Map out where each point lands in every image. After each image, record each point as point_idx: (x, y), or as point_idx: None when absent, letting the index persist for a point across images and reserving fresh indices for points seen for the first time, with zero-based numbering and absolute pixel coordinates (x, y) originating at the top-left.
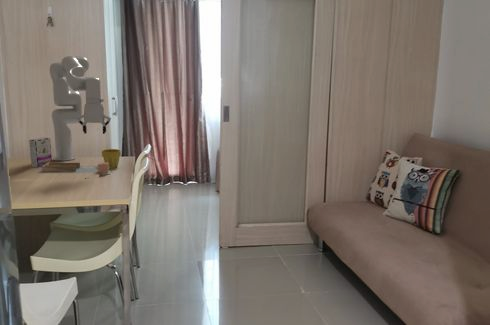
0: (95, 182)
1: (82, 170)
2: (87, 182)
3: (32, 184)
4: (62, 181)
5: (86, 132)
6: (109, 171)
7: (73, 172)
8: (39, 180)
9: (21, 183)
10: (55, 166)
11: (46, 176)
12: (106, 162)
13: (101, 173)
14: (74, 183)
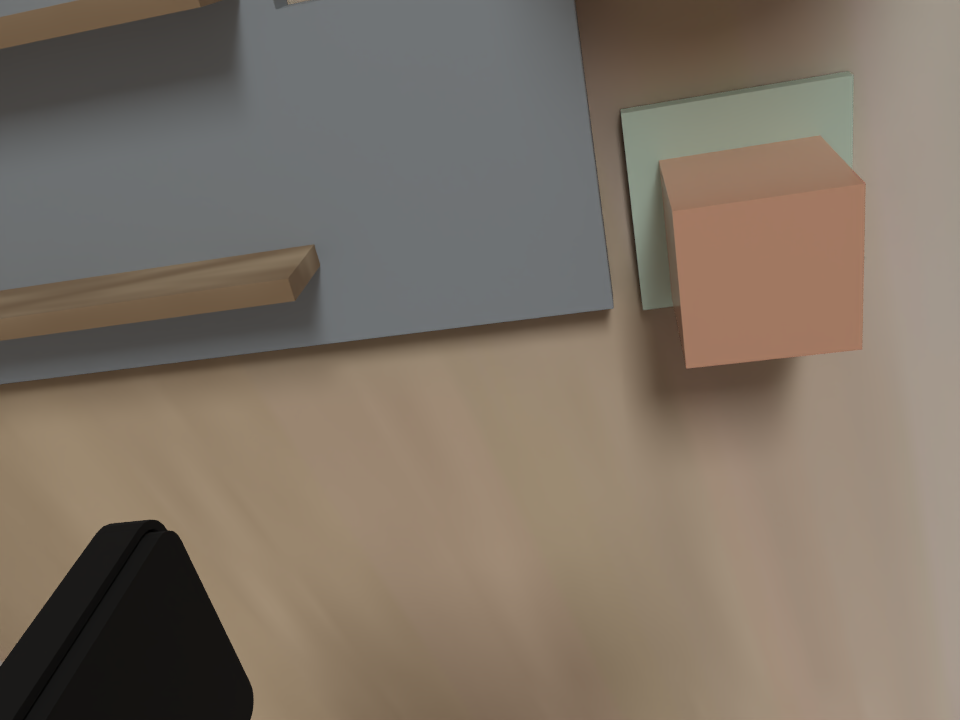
0: (749, 646)
1: (382, 191)
2: (662, 646)
3: None
4: (386, 613)
5: (179, 561)
6: (822, 136)
7: (323, 333)
8: None
9: None
10: (20, 334)
11: (74, 423)
12: (813, 191)
13: None
14: (544, 677)
